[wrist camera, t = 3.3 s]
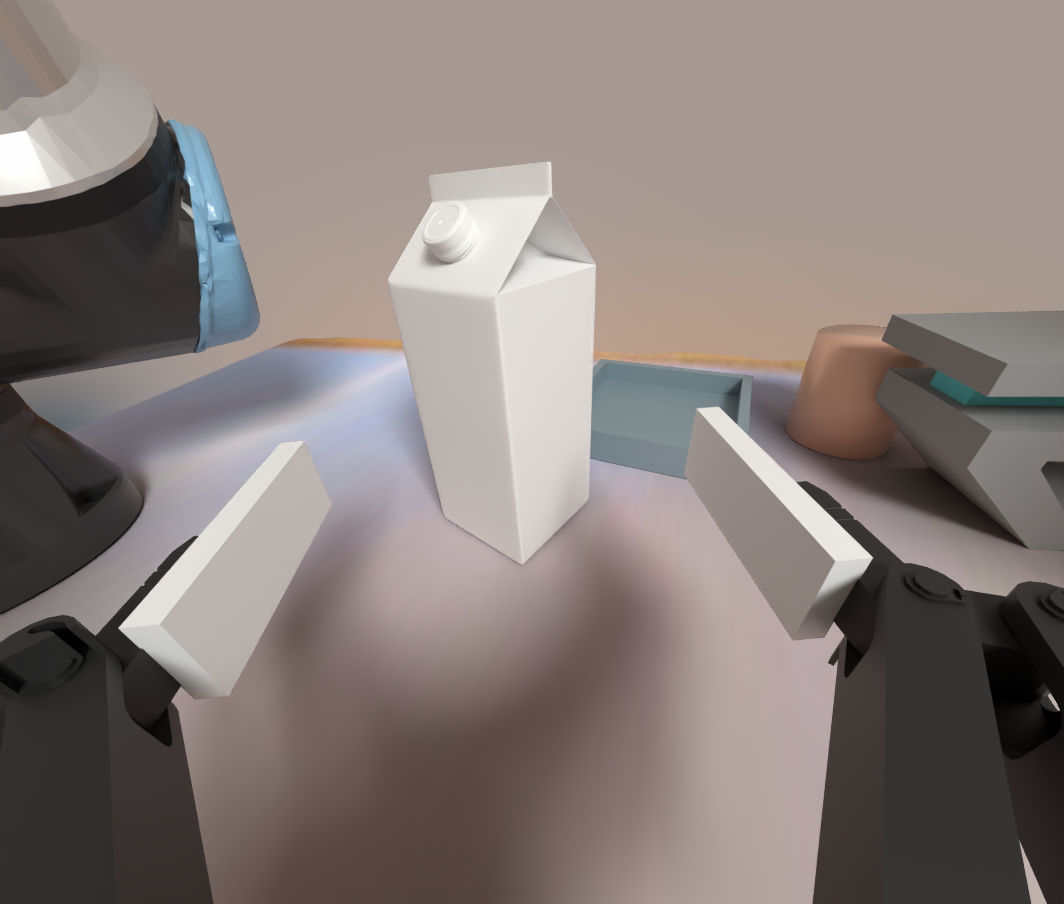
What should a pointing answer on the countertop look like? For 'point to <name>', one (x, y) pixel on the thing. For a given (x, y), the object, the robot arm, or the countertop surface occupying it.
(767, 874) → the countertop surface
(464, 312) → the milk carton
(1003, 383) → the sharpening stone
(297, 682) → the countertop surface
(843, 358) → the peach round cylinder
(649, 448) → the tray
